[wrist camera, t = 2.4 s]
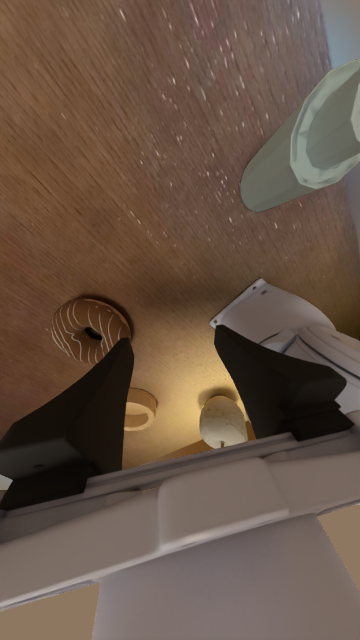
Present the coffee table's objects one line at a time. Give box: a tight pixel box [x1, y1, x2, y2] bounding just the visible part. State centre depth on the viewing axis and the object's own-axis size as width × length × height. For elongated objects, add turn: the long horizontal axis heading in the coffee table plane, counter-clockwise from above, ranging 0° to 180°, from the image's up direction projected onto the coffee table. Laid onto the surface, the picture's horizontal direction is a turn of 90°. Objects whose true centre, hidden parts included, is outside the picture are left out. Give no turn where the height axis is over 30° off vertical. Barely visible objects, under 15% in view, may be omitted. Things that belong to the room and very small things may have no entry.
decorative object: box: [200, 396, 247, 449], centre depth 27 cm, size 9×9×10 cm
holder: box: [124, 388, 156, 431], centre depth 30 cm, size 10×10×3 cm
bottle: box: [240, 59, 360, 212], centre depth 10 cm, size 5×5×10 cm
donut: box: [51, 299, 131, 365], centre depth 20 cm, size 11×11×4 cm
